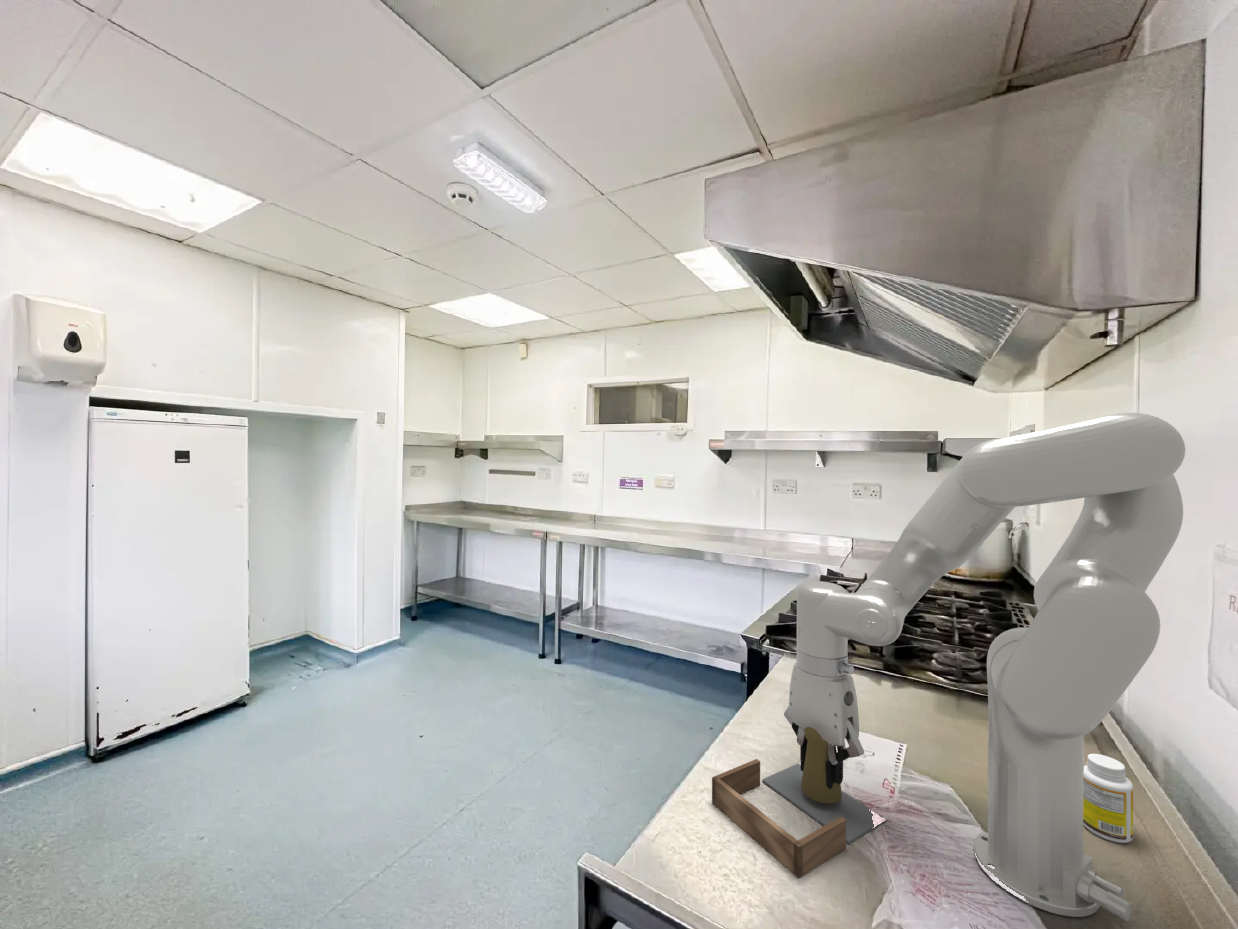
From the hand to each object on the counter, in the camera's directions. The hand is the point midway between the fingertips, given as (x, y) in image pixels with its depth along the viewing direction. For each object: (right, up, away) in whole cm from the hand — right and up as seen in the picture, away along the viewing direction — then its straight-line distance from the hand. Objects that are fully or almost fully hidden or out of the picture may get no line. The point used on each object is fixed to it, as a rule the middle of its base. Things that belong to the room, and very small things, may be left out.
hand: (820, 776), depth 79 cm
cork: (0, -2, 0) cm, 2 cm away
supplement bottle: (+39, -4, -6) cm, 40 cm away
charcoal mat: (0, -4, 0) cm, 4 cm away
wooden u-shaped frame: (-9, -4, -5) cm, 11 cm away
